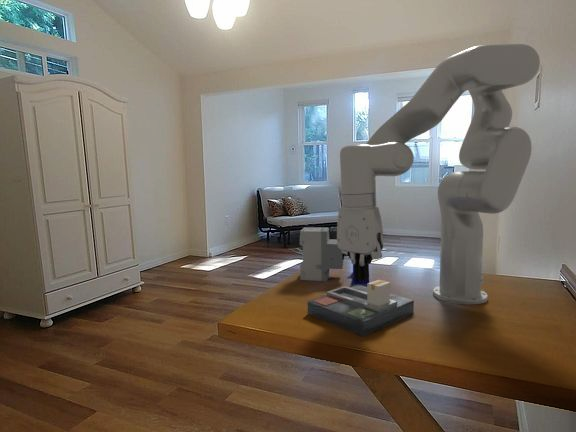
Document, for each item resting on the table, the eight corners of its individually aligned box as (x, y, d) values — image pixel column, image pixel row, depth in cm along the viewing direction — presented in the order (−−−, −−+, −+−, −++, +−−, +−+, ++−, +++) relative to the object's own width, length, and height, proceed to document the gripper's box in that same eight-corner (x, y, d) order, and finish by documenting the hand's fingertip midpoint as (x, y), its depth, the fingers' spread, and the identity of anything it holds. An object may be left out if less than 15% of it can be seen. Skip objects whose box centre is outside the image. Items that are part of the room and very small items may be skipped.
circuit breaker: (347, 281, 108) (347, 231, 106) (300, 279, 110) (299, 231, 109) (348, 274, 115) (348, 227, 113) (304, 273, 118) (303, 227, 116)
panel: (358, 295, 95) (358, 280, 95) (413, 312, 83) (413, 295, 82) (307, 313, 84) (307, 297, 83) (363, 336, 71) (363, 317, 71)
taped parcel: (378, 301, 81) (378, 279, 81) (390, 304, 79) (390, 282, 79) (367, 305, 79) (367, 282, 78) (378, 309, 77) (378, 286, 76)
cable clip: (369, 285, 104) (369, 264, 104) (353, 284, 105) (353, 264, 104) (367, 273, 116) (367, 255, 115) (352, 273, 117) (352, 255, 116)
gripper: (323, 202, 84) (326, 278, 87) (376, 204, 73) (379, 292, 75) (344, 198, 89) (347, 271, 91) (397, 200, 78) (399, 283, 80)
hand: (361, 280), depth 83 cm, fingers closed
